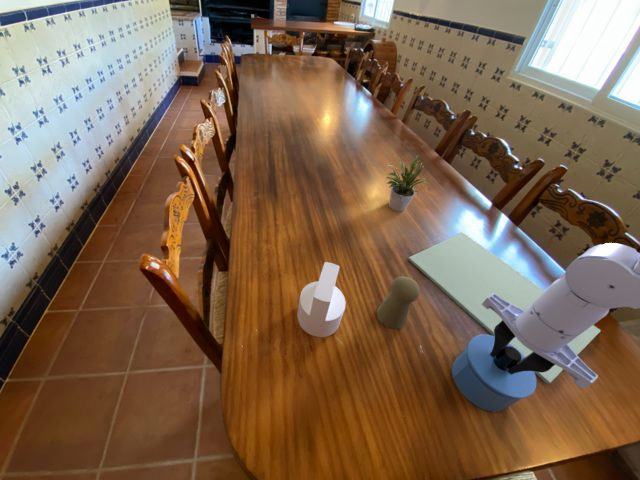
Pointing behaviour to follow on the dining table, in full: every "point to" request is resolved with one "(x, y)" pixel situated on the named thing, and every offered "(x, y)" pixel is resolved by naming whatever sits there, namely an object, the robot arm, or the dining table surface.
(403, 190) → the house plant
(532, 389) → the pot lid
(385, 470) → the dining table surface
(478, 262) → the mat
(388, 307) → the olive pawn figure
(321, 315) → the base with upright slab
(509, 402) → the pot
